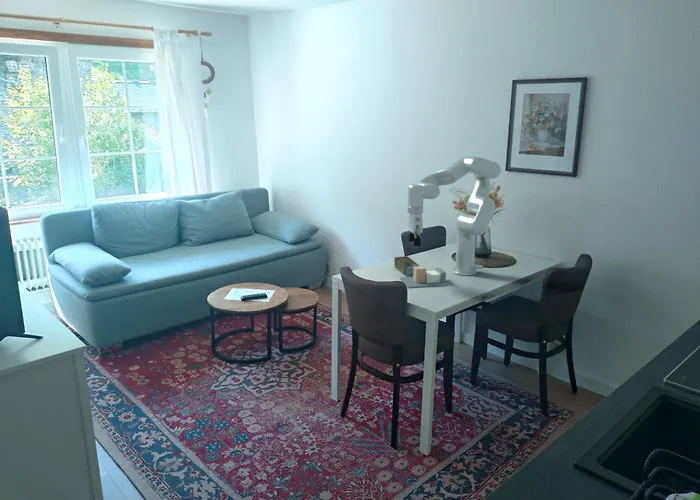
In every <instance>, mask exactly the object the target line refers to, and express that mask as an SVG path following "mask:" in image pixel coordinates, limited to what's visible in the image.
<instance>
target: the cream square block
mask: <svg viewBox="0 0 700 500" xmlns="http://www.w3.org/2000/svg"><path fill="white" fill-rule="evenodd" d="M446 279H447V272H446V271H445V270H444V269H443V268H442V267H435V270H426V283H433V282H441V283H444V282H445V283H446V282H447V281H446Z"/></svg>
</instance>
